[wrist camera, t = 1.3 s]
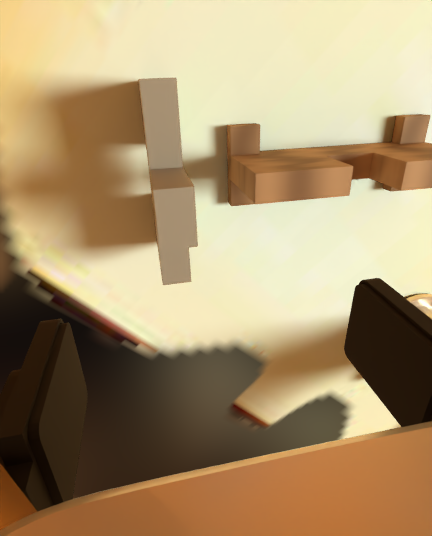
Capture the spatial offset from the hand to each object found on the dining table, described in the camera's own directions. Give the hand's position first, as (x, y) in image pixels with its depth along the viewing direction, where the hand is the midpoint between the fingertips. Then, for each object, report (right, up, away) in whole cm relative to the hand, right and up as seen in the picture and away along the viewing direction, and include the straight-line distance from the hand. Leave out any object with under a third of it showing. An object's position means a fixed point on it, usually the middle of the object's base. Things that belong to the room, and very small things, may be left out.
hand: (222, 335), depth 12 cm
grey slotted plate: (-6, +12, +25) cm, 28 cm away
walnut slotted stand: (+12, +14, +28) cm, 34 cm away
